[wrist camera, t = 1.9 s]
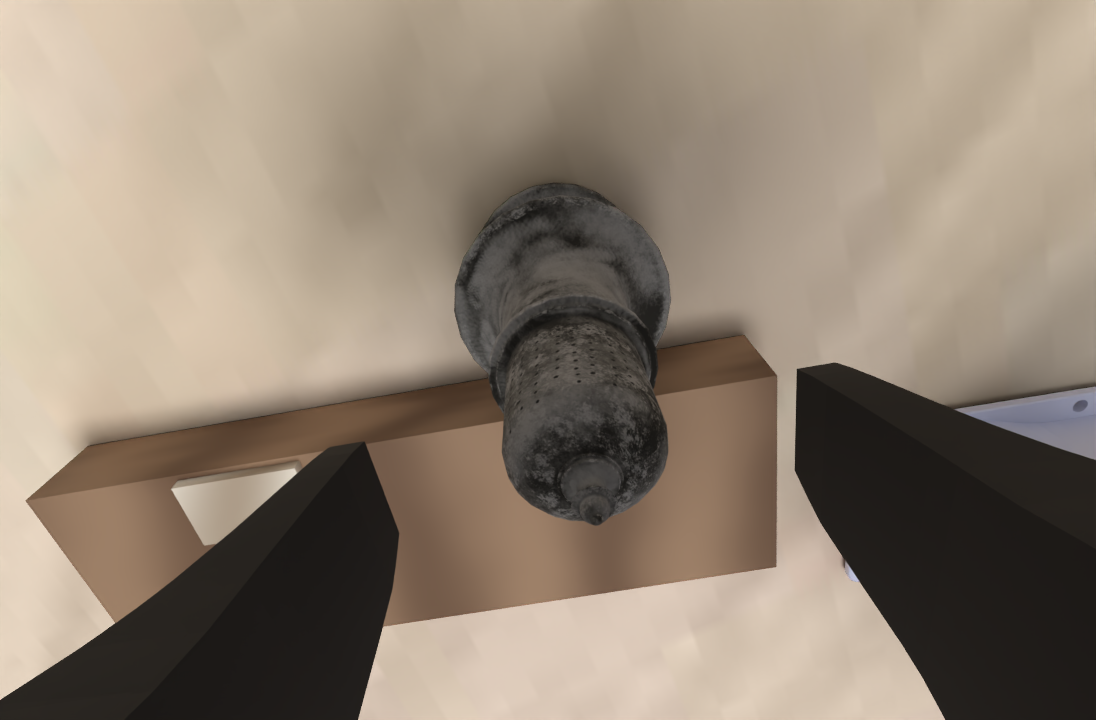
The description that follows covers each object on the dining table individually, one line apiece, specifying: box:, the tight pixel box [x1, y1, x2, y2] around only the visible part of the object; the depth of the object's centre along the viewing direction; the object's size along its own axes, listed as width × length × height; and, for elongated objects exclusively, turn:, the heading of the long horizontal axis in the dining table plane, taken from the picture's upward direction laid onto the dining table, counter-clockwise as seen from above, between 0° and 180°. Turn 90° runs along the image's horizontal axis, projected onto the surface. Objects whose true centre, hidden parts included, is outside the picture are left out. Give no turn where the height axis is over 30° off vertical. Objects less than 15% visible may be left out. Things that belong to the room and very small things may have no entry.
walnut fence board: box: [26, 335, 777, 626], centre depth 21 cm, size 24×8×3 cm, turn 100°
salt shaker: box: [454, 183, 671, 526], centre depth 14 cm, size 6×6×12 cm
